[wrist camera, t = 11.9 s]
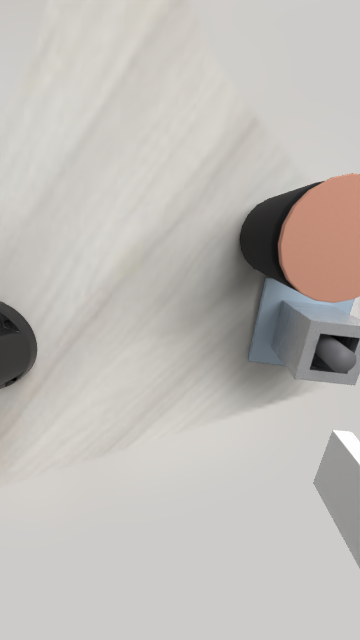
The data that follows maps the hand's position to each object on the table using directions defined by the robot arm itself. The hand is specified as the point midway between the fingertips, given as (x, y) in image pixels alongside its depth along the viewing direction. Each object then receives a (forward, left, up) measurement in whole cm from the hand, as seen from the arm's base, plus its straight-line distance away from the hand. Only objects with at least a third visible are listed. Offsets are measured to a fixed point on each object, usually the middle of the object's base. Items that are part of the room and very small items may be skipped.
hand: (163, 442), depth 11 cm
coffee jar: (+14, +8, -34) cm, 37 cm away
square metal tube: (+21, -5, -33) cm, 39 cm away
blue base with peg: (+21, -5, -34) cm, 40 cm away
